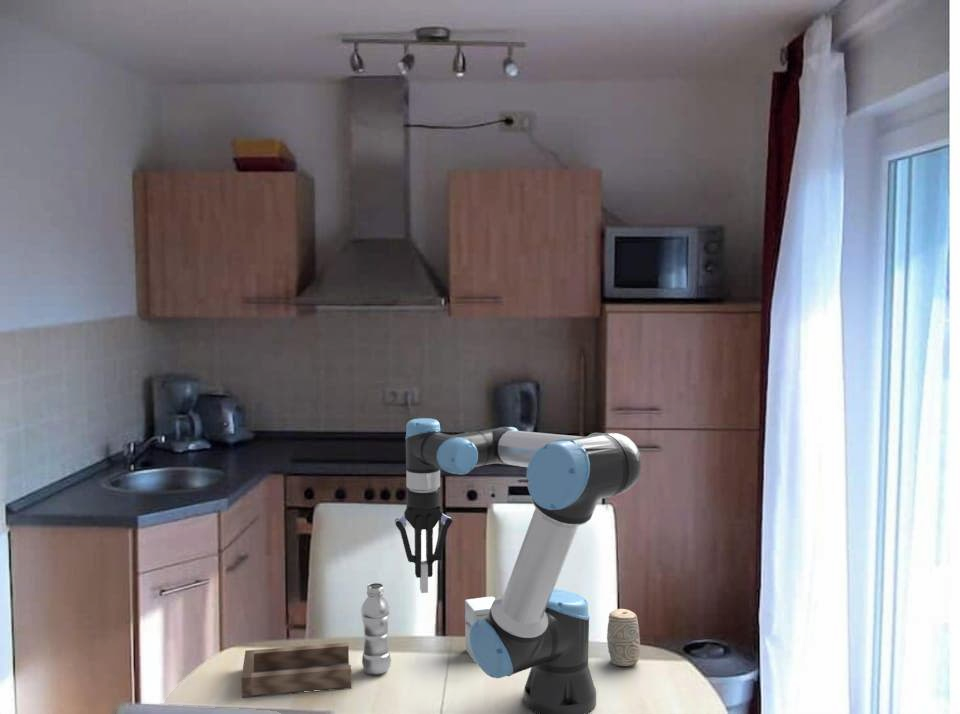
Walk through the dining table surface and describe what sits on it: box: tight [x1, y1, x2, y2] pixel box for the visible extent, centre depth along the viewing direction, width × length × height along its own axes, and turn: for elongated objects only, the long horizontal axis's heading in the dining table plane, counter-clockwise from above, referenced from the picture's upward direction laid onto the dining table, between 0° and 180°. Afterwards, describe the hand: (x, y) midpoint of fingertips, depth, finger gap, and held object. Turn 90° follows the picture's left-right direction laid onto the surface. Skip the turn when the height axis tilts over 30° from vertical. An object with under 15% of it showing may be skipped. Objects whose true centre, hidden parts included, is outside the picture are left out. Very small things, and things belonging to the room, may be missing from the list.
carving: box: [606, 608, 641, 667], centre depth 214 cm, size 6×8×12 cm
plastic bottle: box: [360, 582, 392, 676], centre depth 210 cm, size 6×7×20 cm
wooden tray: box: [240, 642, 352, 699], centre depth 208 cm, size 23×14×4 cm, turn 101°
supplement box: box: [464, 596, 496, 663], centre depth 219 cm, size 7×7×13 cm
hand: (423, 590), depth 211 cm, fingers closed
